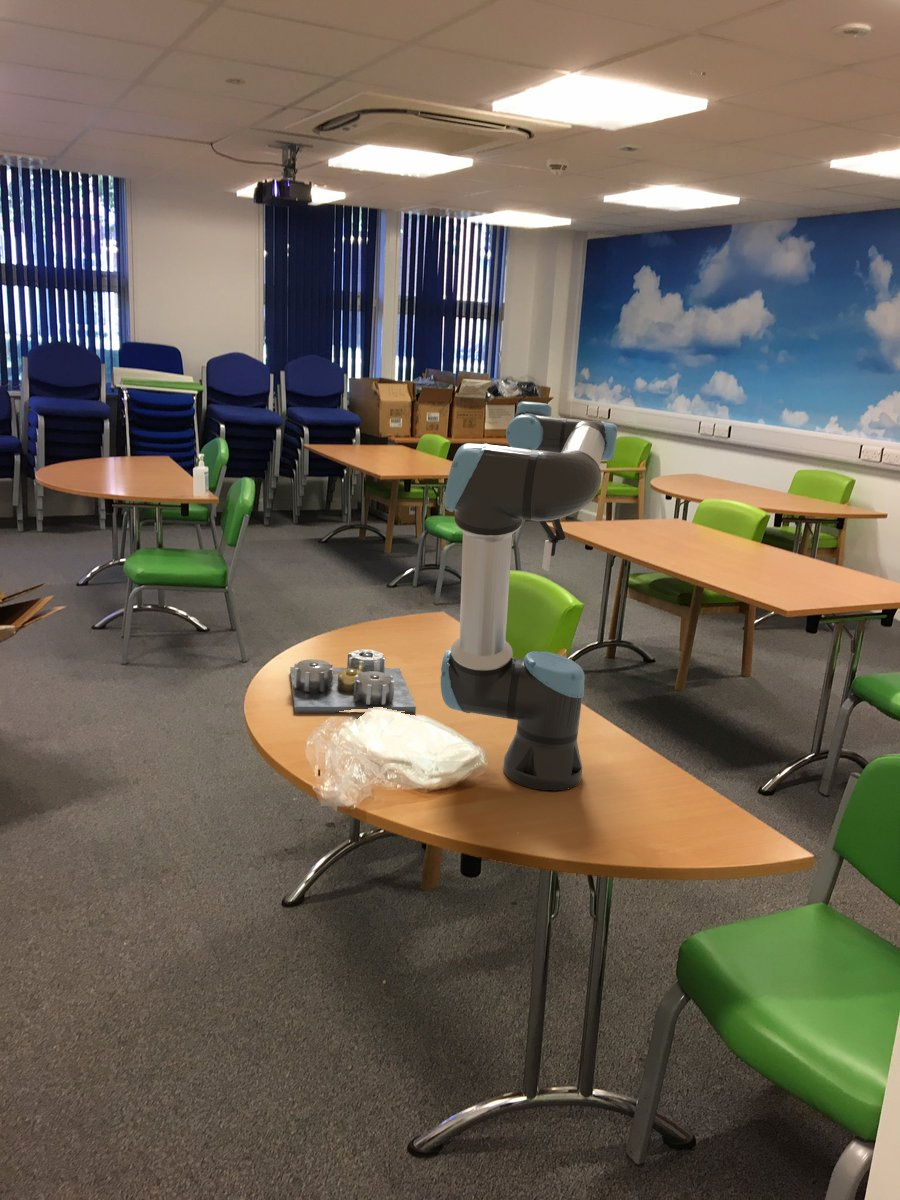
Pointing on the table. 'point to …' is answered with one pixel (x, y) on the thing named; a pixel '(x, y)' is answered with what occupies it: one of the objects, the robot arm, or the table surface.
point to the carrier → (347, 688)
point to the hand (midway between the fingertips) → (516, 568)
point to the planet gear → (366, 661)
